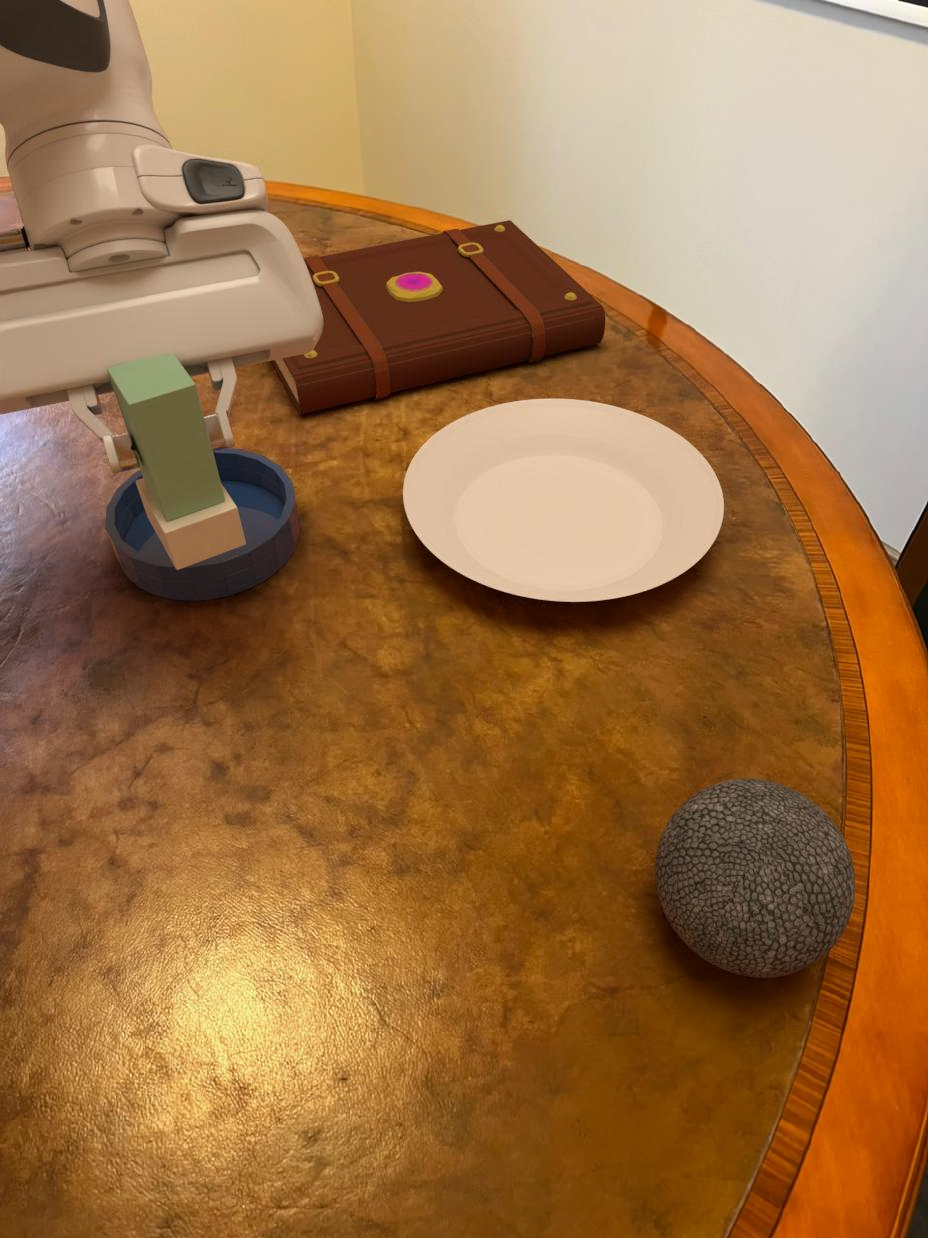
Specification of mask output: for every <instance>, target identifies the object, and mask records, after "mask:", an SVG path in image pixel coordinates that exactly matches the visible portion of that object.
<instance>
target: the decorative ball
mask: <svg viewBox="0 0 928 1238" xmlns="http://www.w3.org/2000/svg"><path fill="white" fill-rule="evenodd" d="M656 848H657V849H656V854H655V861H654V862H655V864H654V878H655V879H654V880H655V888H656V893H657V897H658V901H659V904H660V905H661V908H662V911H663V913H664V915H665V917H666V919H667V921H668V923H669V924H670V926H671V928H672V929H673V931H674V932H675V933H676V935H677V936H678V937H679V938H680V939H681V941H683V943H684V944H685V945H686V946H687V947H688V948H689V949H690V950H691V951H693V952H694V953H695V954H696V955H698V956H699V957H700V958H702V959H703V960H705V961H706V962H708V963H709V964H711V965H712V966H715V967H716V968H719V969H721V970H723V971H727V972H729V973H731V974H736V975H738V976H744V977H750V978H758V979H759V978H761V979H767V978H768V979H769V978H778V977H783V976H787V975H790V974H794V973H796V972H800V971H801V970H804V969H806V968H808V967H810V966H812V965H813V964H815V963H817V962H818V961H820V960H821V959H822V958H823V957H824V956H825V955H827V954H828V953H829V952H830V951H831V950H832V949H833V948H834V947H835V946H836V944H837V943H838V942H839V940H840V938H841V937H842V936H843V934H844V932H845V931H846V929H847V927H848V925H849V922H850V920H851V917H852V913H853V910H854V905H855V899H856V898H855V897H856V875H855V868H854V861H853V858H852V855H851V852H850V849H849V846H848V843H847V842H846V840H845V837H844V836H843V834H842V833H841V831H840V829H839V828H838V827H837V825H836V824H835V822H834V821H833V820H832V818H830V817H829V815H828V814H827V813H826V812H825V811H824V810H823V809H822V808H821V807H820V806H819V805H818V804H817V803H815V802H814V801H812V800H811V799H810V798H808V797H807V796H806V795H804V794H802V793H800V792H799V791H797V790H795V789H793V788H790V787H788V786H786V785H783V784H780V783H777V782H774V781H770V780H765V779H760V778H748V777H745V778H733V779H727V780H724V781H721V782H718V783H717V782H716V783H714V784H712V785H710V786H708V787H705V788H703V789H701V790H700V791H698V792H696V793H694V794H693V795H692V796H690V797H689V798H688V799H686V800H685V801H684V802H683V803H682V804H681V805H680V806H679V807H678V808H677V809H676V811H675V812H674V813H673V814H672V816H671V817H670V818H669V820H668V821H667V822H666V825H665V827H664V829H663V831H662V832H661V836H660V838H659V841H658V844H657V847H656Z"/></svg>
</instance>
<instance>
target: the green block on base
mask: <svg viewBox="0 0 928 1238" xmlns="http://www.w3.org/2000/svg"><path fill="white" fill-rule="evenodd" d="M107 371H108V374H109V377H110V380H111V383H112V386H113V389H114V392H113V393H114V395H115V398H116V401H117V404H118V407H119V411H120V413H121V416H122V419H123V423H124V425H125V429H126V431H127V433H130V435H131V438H132V440H133V444H134V447H135V453H136V455H137V457H138V460H139V464H140V468H139V470H141V473H142V476H143V478H142V479H139V480H136V485H137V488H138V490H139V493H140V496H141V499H142V502H143V505H144V508H145V511H146V514H147V517H148V519H149V521H150V523H151V524H152V526H153V528H154V530H155V532H156V533H157V535H158V537H159V539H160V541H161V542H162V544H163V546H164V548H165V550H166V552H167V553H168V555H169V557H170V559H171V561H172V562H173V564H174V566H175V568H176V569H177V570H179V569H182V568H184V567H187V566H190V565H192V564H195V563H198V562H200V561H203V560H206V559H208V558H211V557H214V556H216V555H219V554H222V553H224V552H227V551H230V550H232V549H235V548H238V547H240V546H243V545H245V544H246V541H245V537H244V533H243V529H242V525H241V521H240V517H239V513H238V509H237V506H236V505H235V503H234V502H233V500H232V499H231V497H230V496H229V494H228V493H227V491H226V490H225V488H224V487H223V485H222V484H221V481H220V478H219V474H218V470H217V466H216V462H215V458H214V454H213V450H212V446H211V443H210V439H209V435H208V431H207V427H206V423H205V419H204V417H205V416H204V412H203V407H202V405H201V400H200V396H199V392H198V388H197V385H196V383H195V381H194V380H193V379H192V377H190V376H189V375H188V373H187V372H186V370H185V369H184V368H183V366H182V365H181V363H180V362H179V360H178V359H177V358H176V356H175V355H174V354H173V353H169V354H164V355H159V356H154V357H149V358H144V359H139V360H135V361H131V362H127V363H124V364H121V365H117V366H114V367H110V368H108V369H107Z"/></svg>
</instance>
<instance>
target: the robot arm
mask: <svg viewBox="0 0 928 1238" xmlns="http://www.w3.org/2000/svg"><path fill="white" fill-rule="evenodd" d="M131 5H132V4H131V2H130V0H0V125H1V126H2V127H3V132H4V139H5V146H4V148H5V149H4V157H5V165H6V170H7V173H8V176H9V179H10V183H11V187H12V190H13V193H14V197H15V201H16V204H17V207H18V210H19V215H20V219H21V222H22V224H23V225H22V227H21V228H15V229H11V230H10V229H9V230H4V231H0V415H5V414H11V413H15V412H22V411H27V410H31V409H36V408H41V407H45V406H51V405H56V404H62V403H66V402H69V403H70V409H71V411H72V412H73V414H74V415H75V416H76V418H77V419H78V420H79V421H80V422H81V423H82V424H83V425H84V426H85V427H86V428H87V429H88V431H90V432H91V433H92V434H93V435H94V436H95V437H96V438H97V439H98V440H99V441H100V442H101V443H102V444H103V446H104V449H105V454H106V456H107V461H108V464H109V466H110V469H111V471H112V473H113V474H117V473H121V472H127V471H131V470H135V469H140V464H139V460H138V457H137V455H136V453H135V447H134V444H133V440H132V438H131V435H130V433H128V432H124V433H119V434H114V433H113V432H112V431H111V430H110V429H109V427H107V426H106V425H105V424H104V423H103V422H102V421H101V420H100V419H99V418H98V417H97V415H101V414H103V408H102V403H101V399H100V396H102V395H106V394H110V393H115V392H114V389H113V386H112V383H111V380H110V377H109V374H108V371H107V369H108V368H110V367H114V366H117V365H121V364H124V363H127V362H131V361H135V360H139V359H144V358H149V357H154V356H159V355H164V354H169V353H173V354H174V355H175V356H176V358H177V359H178V360H179V362H180V363H181V365H182V366H183V368H184V369H185V370H186V372H187V373H188V375H189V376H190V377H191V378H192V377H196V376H201V375H206V374H208V377H209V380H210V383H211V387H212V390H213V391H220V392H219V395H218V399H217V403H216V407H215V411H214V413H213V414H210V415H209V414H208V415H206V416H204V419H205V423H206V427H207V431H208V435H209V439H210V443H211V446H212V450H213V451H218V450H222V449H228V448H231V449H233V448H235V440H234V435H233V432H232V427H231V425H230V421H229V417H230V413H231V409H232V407H233V402H234V399H235V395H236V391H237V387H238V376H237V372H236V368H241V367H246V366H251V365H255V364H262V363H267V362H271V361H272V360H277V359H282V358H287V357H292V356H297V355H302V354H307V353H310V352H311V351H312V350H313V349H314V348H315V346H316V344H317V342H318V341H319V339H320V336H321V334H322V331H323V324H324V322H323V315H322V311H321V307H320V303H319V300H318V297H317V294H316V291H315V288H314V285H313V282H312V279H311V277H310V274H309V271H308V269H307V266H306V264H305V261H304V259H303V258H304V257H303V254H302V252H301V250H300V247H299V245H298V243H297V241H296V239H295V237H294V235H293V234H292V232H291V231H290V229H289V228H288V226H287V225H286V224H285V223H284V222H283V221H282V220H281V219H280V218H278V217H277V216H276V215H274V214H273V213H271V212H269V199H268V192H267V187H266V183H265V179H264V176H263V174H262V172H261V169H260V168H258V166H256V165H254V164H251V163H248V162H244V161H239V160H232V159H225V158H219V157H214V156H207V155H202V154H196V153H191V152H185V151H181V150H176V149H173V147H172V143H171V141H170V139H169V136H168V135H167V132H166V131H165V129H164V128H163V126H162V125H161V123H160V121H159V118H158V116H157V114H156V112H155V108H154V104H153V103H154V102H153V78H152V72H151V68H150V67H151V66H150V63H149V60H148V56H147V53H146V49H145V45H144V41H143V39H142V35H141V33H140V29H139V26H138V22H137V20H136V17H135V14H134V11H133V8H132V6H131Z"/></svg>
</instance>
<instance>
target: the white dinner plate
mask: <svg viewBox="0 0 928 1238" xmlns="http://www.w3.org/2000/svg"><path fill="white" fill-rule="evenodd" d="M402 487H403V488H402V497H403V498H402V501H403V505H404V506H403V508H404V511H405V514H406V517H407V520H408V522H409V524H410V527H411V528H412V530H413V531H414V533H415V534H416V536H417V537H418V539H419V540H420V541H421V543H422V544H423V545H424V546H425V547H426V549H428V550H429V551H430V552H431V553H432V554H433V555H434V556H435V557H436V558H437V559H439V560H440V561H441V562H442V563H444V564H445V565H446V566H448V567H449V568H450V569H453V570H454V571H455V572H457V573H459V574H460V575H463V576H464V577H466V578H468V579H470V580H472V581H475V582H476V583H479V584H481V585H484V586H486V587H488V588H492V589H494V590H497V591H500V592H504V593H507V594H511V595H514V596H519V597H523V598H528V599H535V600H543V601H550V602H563V603H564V602H566V603H567V602H570V603H578V602H579V603H581V602H582V603H583V602H584V603H585V602H598V601H605V600H613V599H619V598H623V597H628V596H632V595H636V594H639V593H643V592H646V591H649V590H652V589H655V588H657V587H660V586H662V585H664V584H666V583H668V582H670V581H672V580H674V579H676V578H677V577H679V576H680V575H682V574H684V573H685V572H687V571H688V570H689V569H691V568H692V567H693V566H694V565H695V564H697V563H698V562H699V561H700V560H701V559H702V558H703V557H704V556H705V555H706V554H707V552H708V551H709V550H710V548H711V547H712V546H713V544H714V543H715V541H716V539H717V537H718V535H719V533H720V530H721V527H722V523H723V521H724V512H725V500H724V494H723V489H722V487H721V483H720V481H719V479H718V477H717V475H716V472H715V471H714V469H713V467H712V466H711V464H710V463H709V461H708V460H707V459H706V457H704V455H703V454H702V453H701V452H700V451H699V450H698V449H697V448H696V447H695V446H694V445H693V444H692V443H690V442H689V441H688V440H687V439H686V438H685V437H683V436H681V435H680V434H679V433H677V432H676V431H674V430H672V428H670V427H667V426H666V425H665V424H662V423H661V422H658V421H656V420H654V419H652V418H650V417H648V416H645V415H643V414H640V413H638V412H635V411H632V410H629V409H626V408H622V407H619V406H615V405H611V404H607V403H602V402H597V401H591V400H583V399H573V398H533V399H532V398H531V399H522V400H515V401H509V402H504V403H499V404H495V405H492V406H488V407H485V408H481V409H479V410H476V411H474V412H471V413H468V414H466V415H464V416H461V417H459V418H457V419H456V420H454V421H452V422H450V423H449V424H447V425H445V426H444V427H442V428H441V429H439V430H437V432H435V434H433V435H432V436H431V437H430V438H429V439H427V440H426V441H425V442H424V444H423V445H422V446H420V448H419V449H418V450H417V452H416V453H415V455H414V456H413V458H412V460H411V461H410V463H409V465H408V468H407V470H406V473H405V476H404V480H403V485H402Z"/></svg>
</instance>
